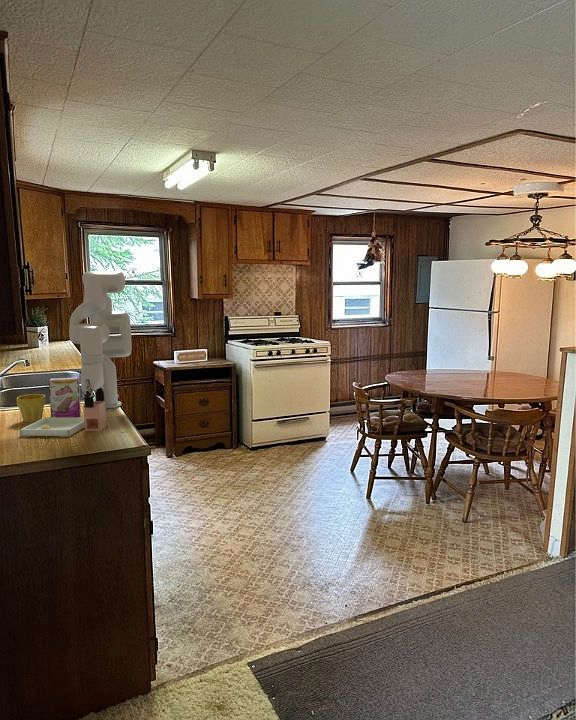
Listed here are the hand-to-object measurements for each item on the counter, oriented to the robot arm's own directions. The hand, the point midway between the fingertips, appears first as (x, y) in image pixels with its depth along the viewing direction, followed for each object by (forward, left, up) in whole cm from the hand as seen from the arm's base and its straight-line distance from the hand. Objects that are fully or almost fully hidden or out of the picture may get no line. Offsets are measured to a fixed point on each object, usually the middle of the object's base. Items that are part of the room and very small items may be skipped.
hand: (94, 404), depth 195 cm
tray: (+3, -14, -9) cm, 17 cm away
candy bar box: (-15, -19, -10) cm, 26 cm away
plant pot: (-11, -31, -10) cm, 34 cm away
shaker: (+1, 0, -9) cm, 9 cm away
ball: (+9, -14, -7) cm, 19 cm away
